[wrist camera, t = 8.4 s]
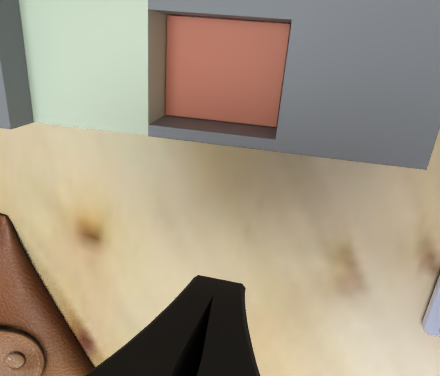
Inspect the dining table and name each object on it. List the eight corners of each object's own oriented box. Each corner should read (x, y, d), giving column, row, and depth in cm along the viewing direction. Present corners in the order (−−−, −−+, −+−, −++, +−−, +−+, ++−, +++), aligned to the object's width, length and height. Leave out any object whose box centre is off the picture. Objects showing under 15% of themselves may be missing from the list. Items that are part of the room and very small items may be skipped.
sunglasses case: (134, 415, 27) (51, 508, 22) (92, 384, 32) (18, 455, 28) (1, 203, 22) (-137, 271, 17) (-23, 207, 27) (-134, 260, 23)
